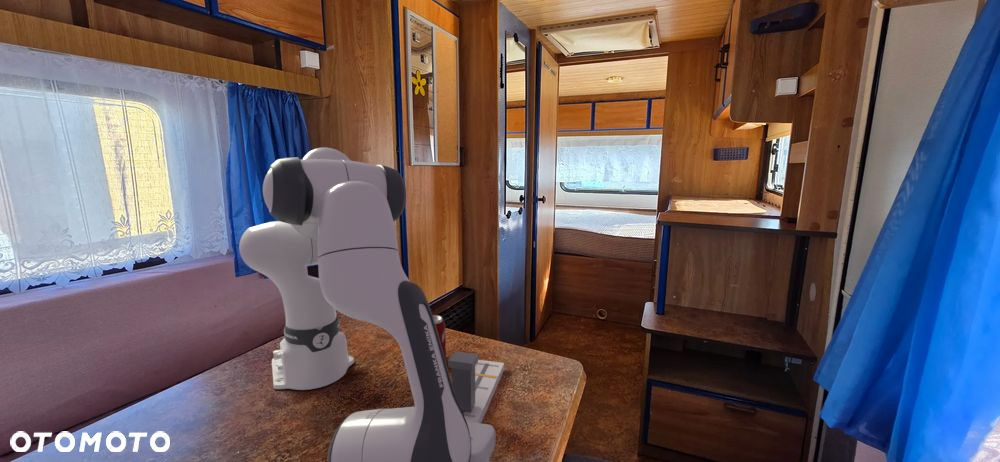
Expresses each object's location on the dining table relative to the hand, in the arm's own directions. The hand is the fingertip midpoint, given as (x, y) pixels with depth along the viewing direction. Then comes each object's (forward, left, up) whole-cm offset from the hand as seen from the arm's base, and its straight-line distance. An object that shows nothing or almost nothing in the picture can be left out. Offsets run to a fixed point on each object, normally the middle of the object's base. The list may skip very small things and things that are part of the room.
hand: (450, 408), depth 74 cm
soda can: (-27, +14, -7) cm, 32 cm away
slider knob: (-4, +6, -4) cm, 9 cm away
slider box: (-8, +13, -7) cm, 17 cm away
